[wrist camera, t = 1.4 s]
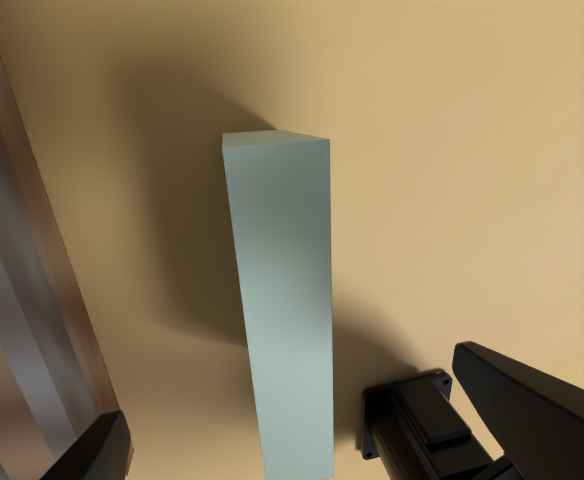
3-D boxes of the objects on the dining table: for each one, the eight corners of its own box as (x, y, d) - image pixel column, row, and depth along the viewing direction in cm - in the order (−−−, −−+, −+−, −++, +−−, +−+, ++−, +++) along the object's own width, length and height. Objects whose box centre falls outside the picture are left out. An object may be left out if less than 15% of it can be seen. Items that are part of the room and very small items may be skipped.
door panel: (291, 340, 19) (333, 476, 12) (250, 347, 19) (267, 493, 11) (277, 129, 15) (329, 139, 8) (222, 133, 14) (222, 147, 7)
